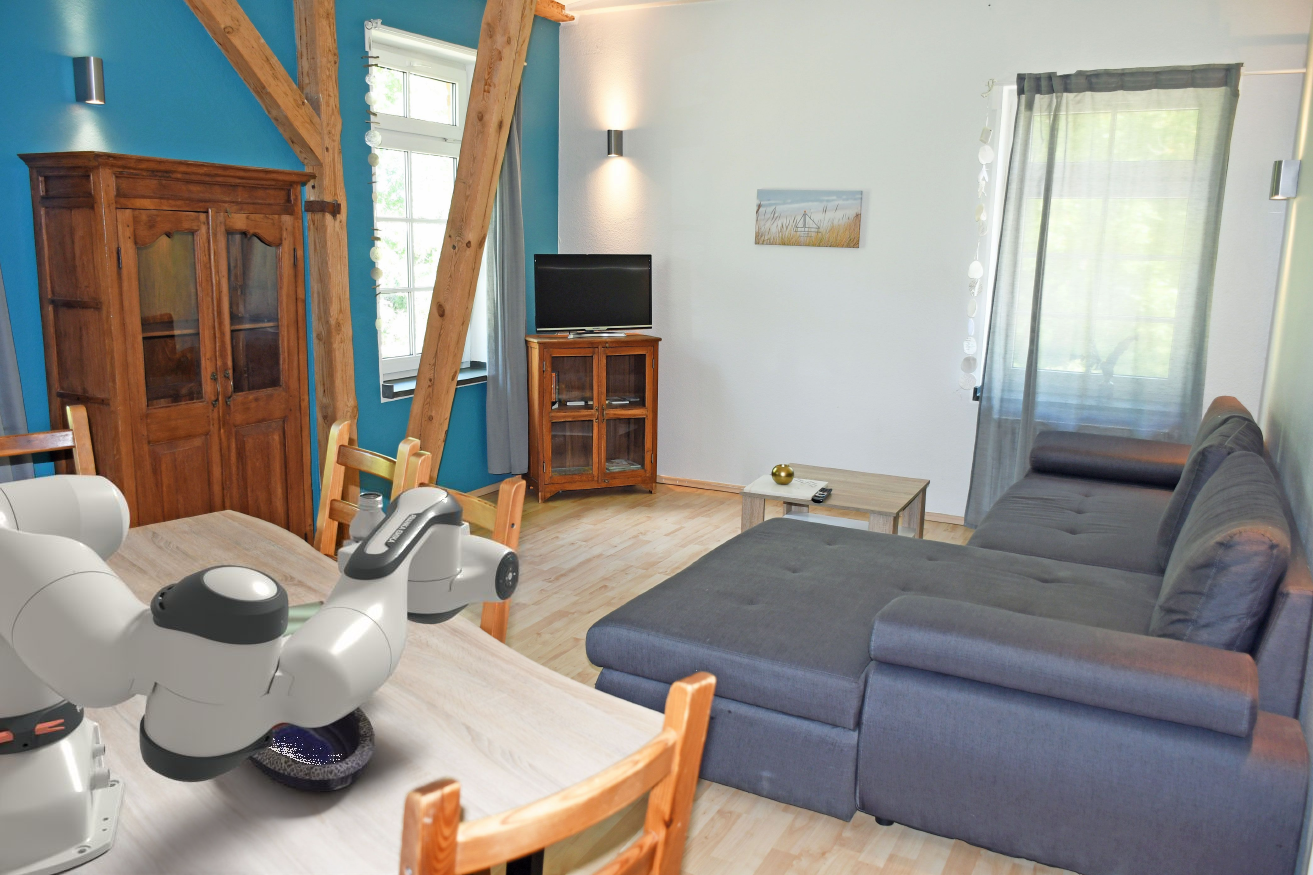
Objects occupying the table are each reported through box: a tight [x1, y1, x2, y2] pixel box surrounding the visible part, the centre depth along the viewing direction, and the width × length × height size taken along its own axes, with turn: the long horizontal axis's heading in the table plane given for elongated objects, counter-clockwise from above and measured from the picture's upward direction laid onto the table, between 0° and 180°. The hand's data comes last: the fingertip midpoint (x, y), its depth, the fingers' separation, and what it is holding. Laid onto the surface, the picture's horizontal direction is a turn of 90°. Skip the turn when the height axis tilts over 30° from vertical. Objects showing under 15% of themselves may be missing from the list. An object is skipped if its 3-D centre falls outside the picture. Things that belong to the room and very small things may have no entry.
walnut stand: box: [282, 600, 325, 638], centre depth 162 cm, size 16×14×3 cm
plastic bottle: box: [348, 491, 387, 543], centre depth 153 cm, size 6×7×20 cm
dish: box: [248, 706, 376, 792], centre depth 128 cm, size 16×31×5 cm, turn 38°
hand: (366, 538), depth 153 cm, fingers closed on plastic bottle, 6 cm apart
